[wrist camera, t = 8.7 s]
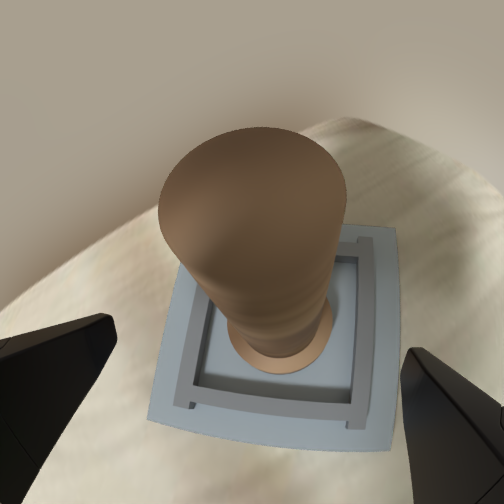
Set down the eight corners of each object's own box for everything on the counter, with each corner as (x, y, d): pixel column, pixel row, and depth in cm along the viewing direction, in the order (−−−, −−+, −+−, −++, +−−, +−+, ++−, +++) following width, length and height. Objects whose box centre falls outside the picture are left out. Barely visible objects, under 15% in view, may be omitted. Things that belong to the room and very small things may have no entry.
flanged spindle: (350, 327, 18) (428, 194, 6) (275, 394, 16) (225, 386, 5) (284, 262, 20) (262, 88, 9) (213, 321, 19) (97, 197, 8)
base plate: (384, 448, 15) (406, 458, 11) (154, 419, 18) (122, 420, 14) (391, 236, 21) (406, 203, 18) (197, 225, 24) (180, 192, 21)
